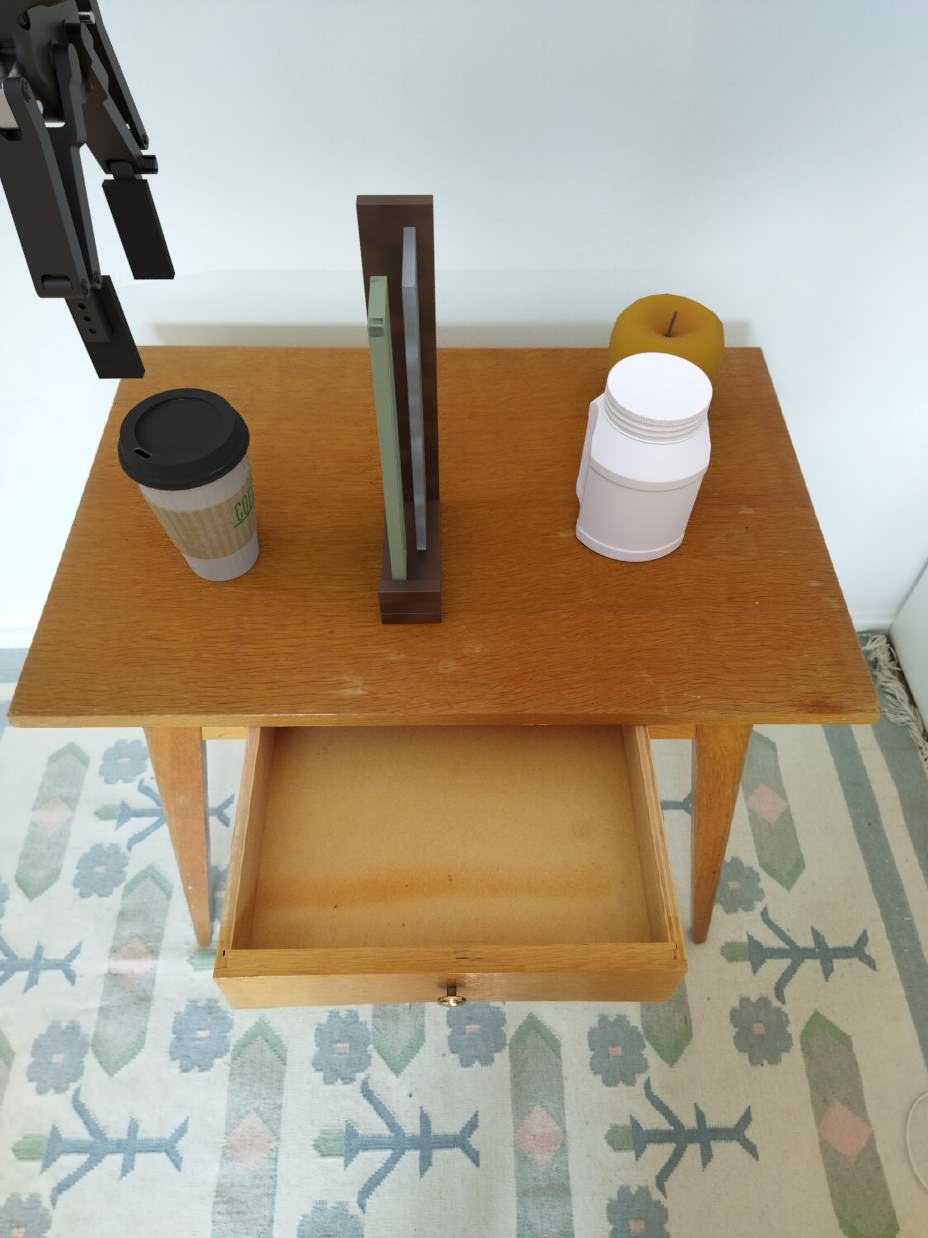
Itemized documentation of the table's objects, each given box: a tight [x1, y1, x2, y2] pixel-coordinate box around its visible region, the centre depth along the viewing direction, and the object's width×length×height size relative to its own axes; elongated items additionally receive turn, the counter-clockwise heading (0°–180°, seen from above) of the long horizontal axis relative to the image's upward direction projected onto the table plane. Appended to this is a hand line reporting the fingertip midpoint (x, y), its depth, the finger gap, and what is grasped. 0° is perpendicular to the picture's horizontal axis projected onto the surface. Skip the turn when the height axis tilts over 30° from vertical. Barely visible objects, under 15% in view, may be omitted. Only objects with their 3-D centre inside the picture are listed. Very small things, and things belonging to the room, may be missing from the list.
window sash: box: [366, 276, 407, 580], centre depth 59 cm, size 1×5×26 cm, turn 2°
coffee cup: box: [116, 387, 260, 582], centre depth 67 cm, size 10×10×15 cm
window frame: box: [355, 194, 442, 625], centre depth 61 cm, size 5×14×29 cm, turn 1°
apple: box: [607, 293, 726, 389], centre depth 79 cm, size 11×11×13 cm
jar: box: [575, 353, 713, 563], centre depth 70 cm, size 12×10×15 cm
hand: (139, 322), depth 54 cm, fingers open, 10 cm apart
